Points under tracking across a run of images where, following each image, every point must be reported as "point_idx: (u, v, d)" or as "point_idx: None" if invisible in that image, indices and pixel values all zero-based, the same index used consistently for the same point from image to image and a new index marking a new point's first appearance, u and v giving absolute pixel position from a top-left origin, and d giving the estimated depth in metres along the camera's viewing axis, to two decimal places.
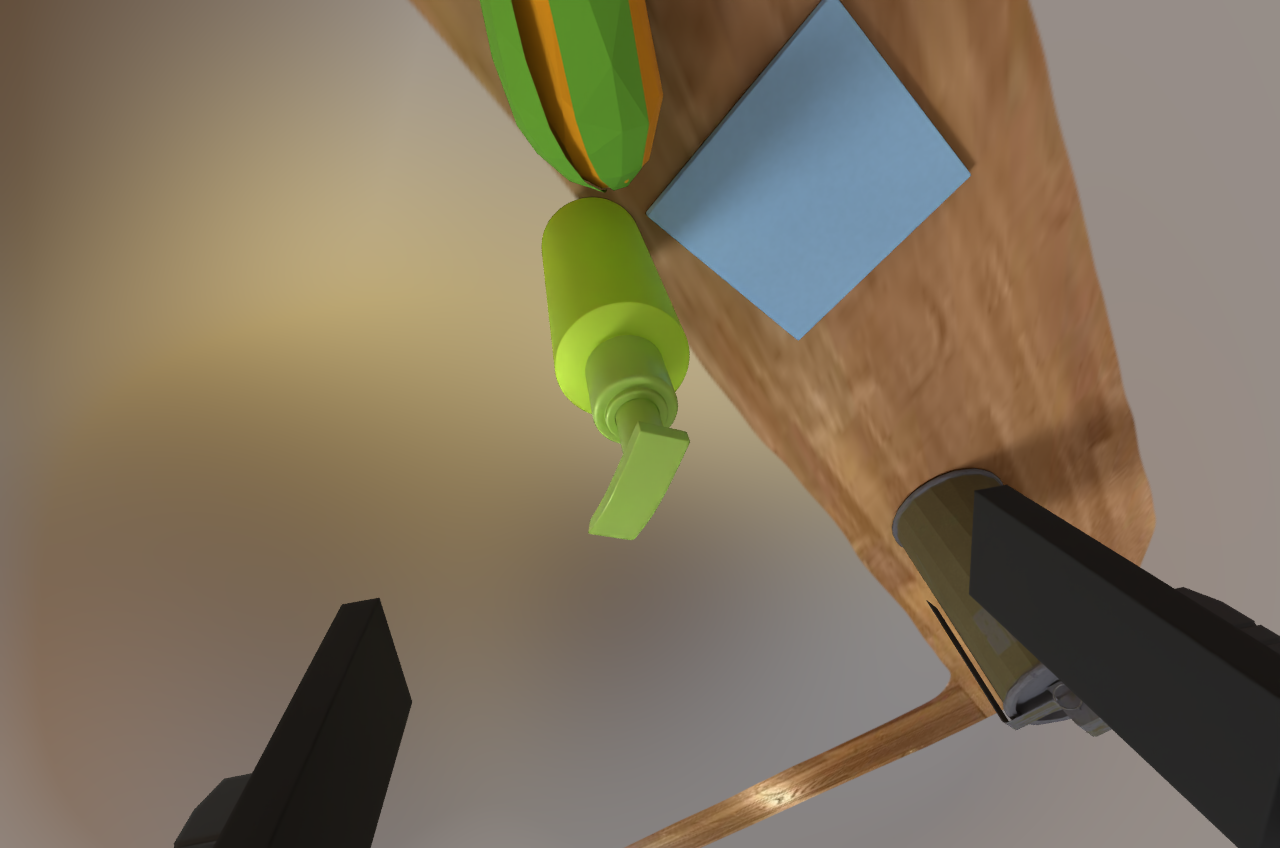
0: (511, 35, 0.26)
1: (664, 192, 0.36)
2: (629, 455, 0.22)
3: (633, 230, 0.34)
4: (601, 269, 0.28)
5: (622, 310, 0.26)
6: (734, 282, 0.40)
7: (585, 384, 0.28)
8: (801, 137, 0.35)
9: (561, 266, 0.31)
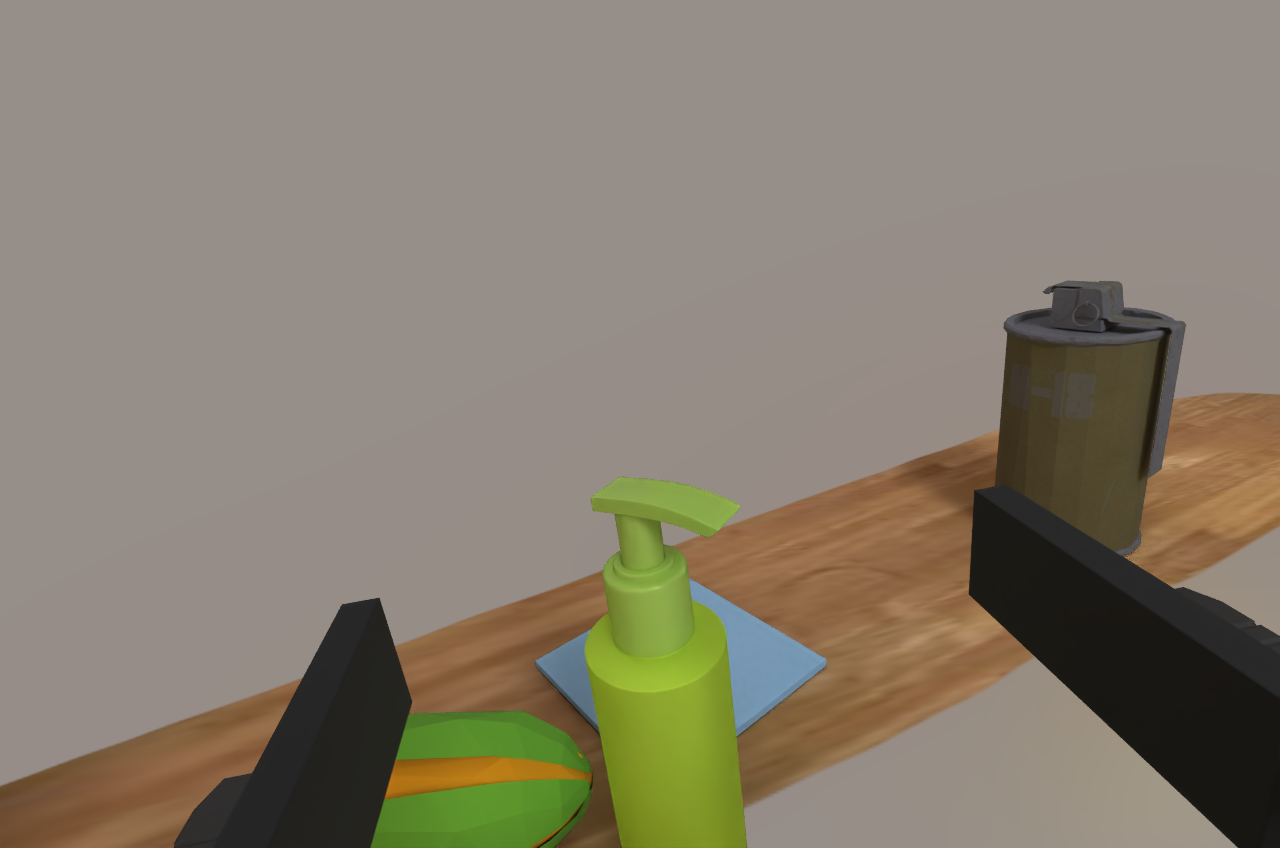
0: (406, 807, 0.28)
1: None
2: (612, 500, 0.24)
3: None
4: None
5: (593, 634, 0.27)
6: (750, 713, 0.38)
7: (663, 662, 0.25)
8: None
9: (615, 785, 0.27)
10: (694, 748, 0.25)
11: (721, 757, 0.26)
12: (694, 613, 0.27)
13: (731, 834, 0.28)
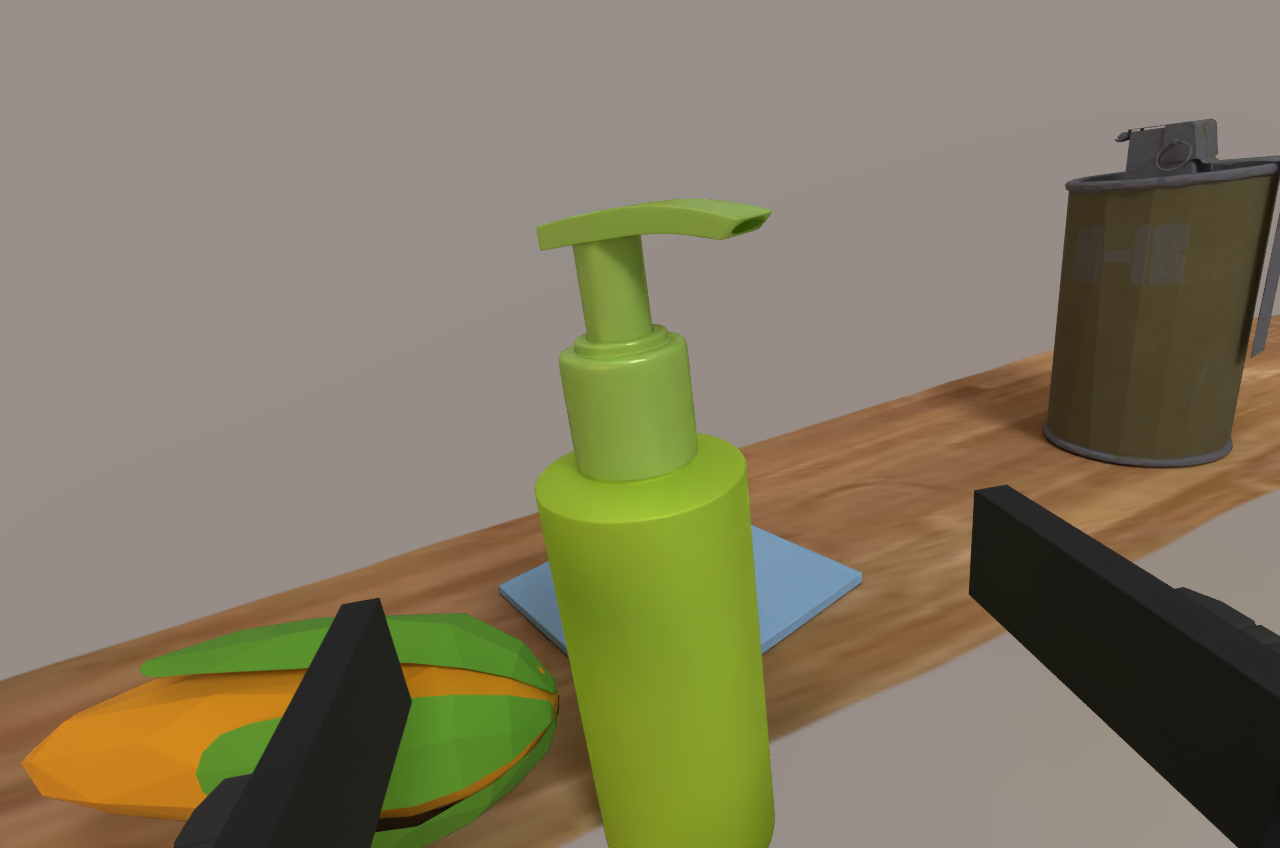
0: None
1: None
2: (568, 220, 0.15)
3: None
4: None
5: (550, 469, 0.18)
6: (768, 632, 0.29)
7: (650, 486, 0.16)
8: None
9: (583, 691, 0.18)
10: (698, 621, 0.16)
11: (740, 641, 0.17)
12: (697, 439, 0.19)
13: (753, 764, 0.19)
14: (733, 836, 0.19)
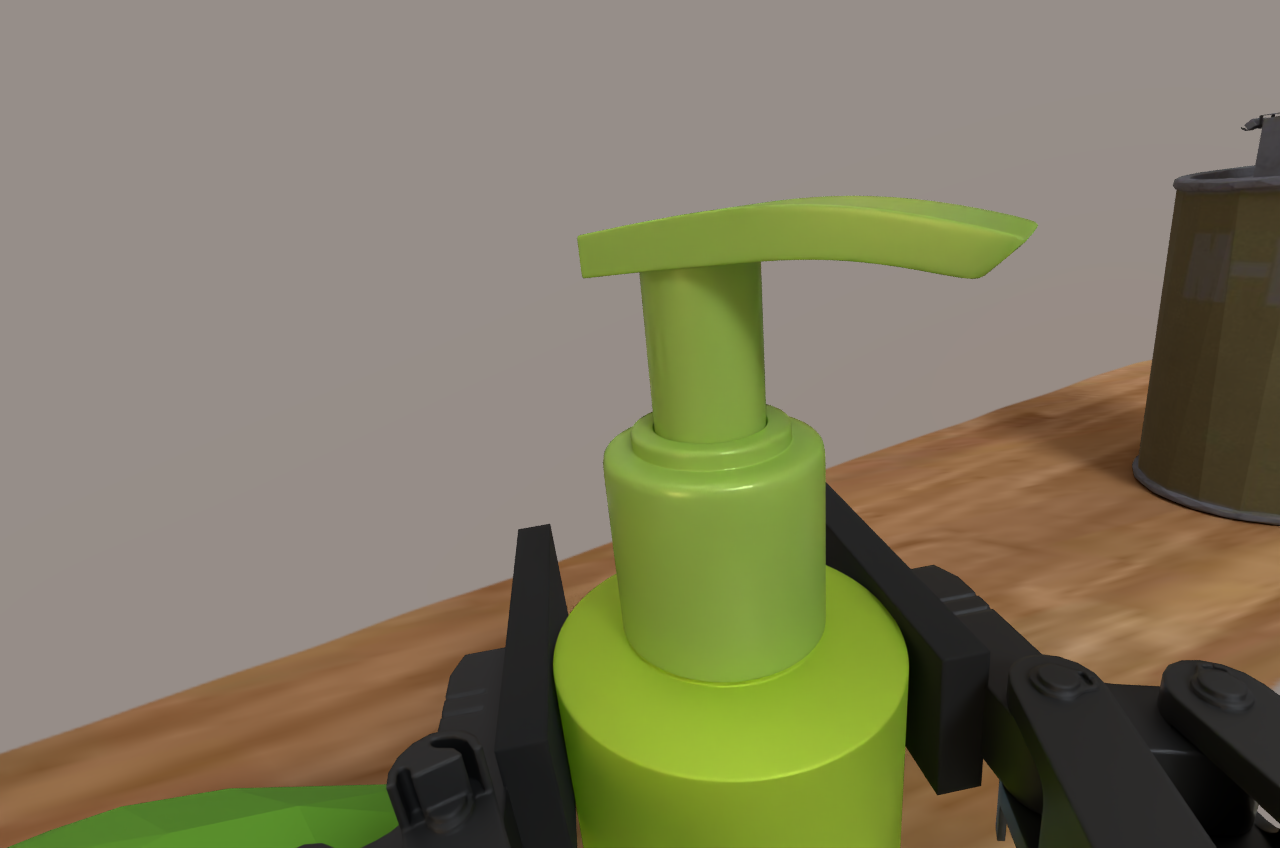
0: None
1: None
2: (639, 227, 0.08)
3: None
4: None
5: (577, 621, 0.12)
6: None
7: (759, 694, 0.09)
8: None
9: None
10: None
11: None
12: None
13: None
14: None
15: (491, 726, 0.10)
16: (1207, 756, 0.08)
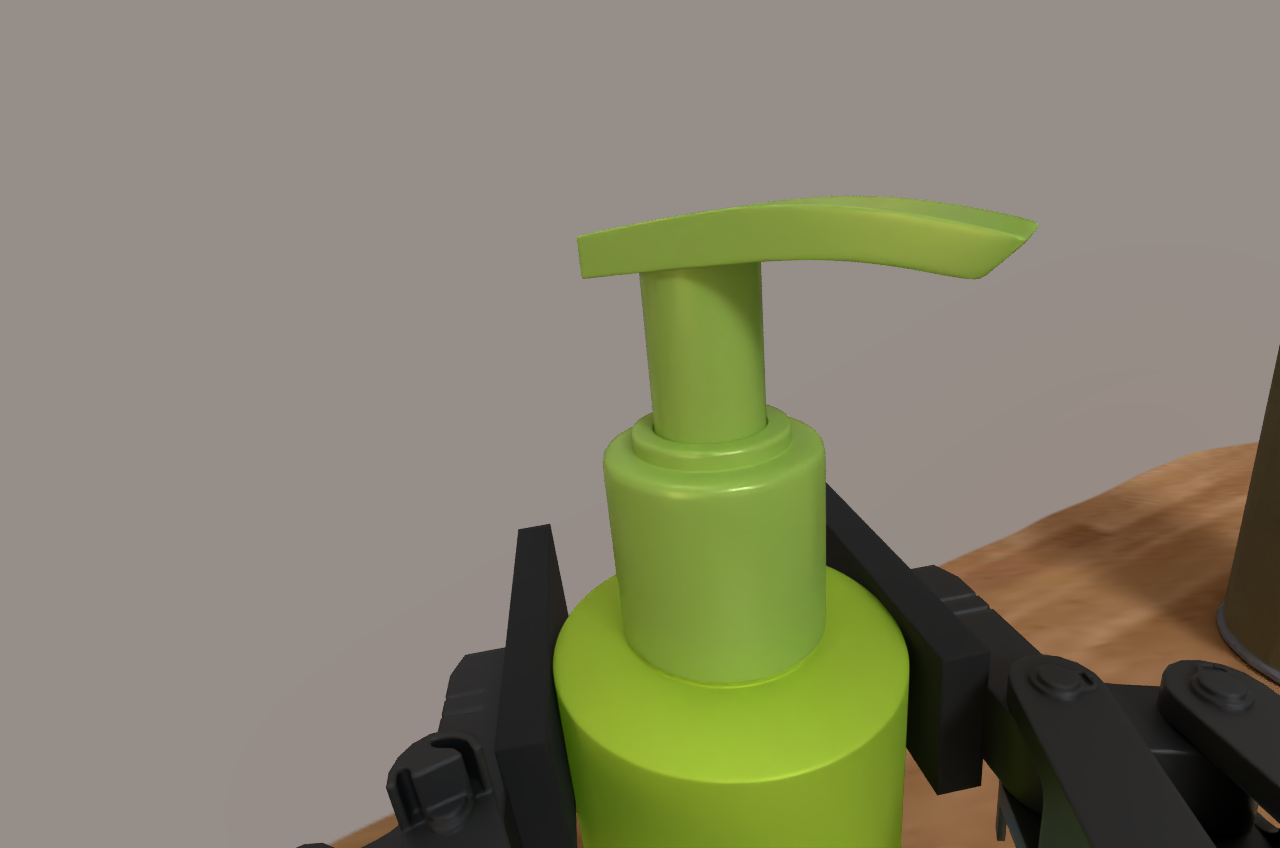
0: None
1: None
2: (639, 227, 0.08)
3: None
4: None
5: (577, 622, 0.12)
6: None
7: (759, 695, 0.09)
8: None
9: None
10: None
11: None
12: None
13: None
14: None
15: (491, 726, 0.10)
16: (1207, 756, 0.08)
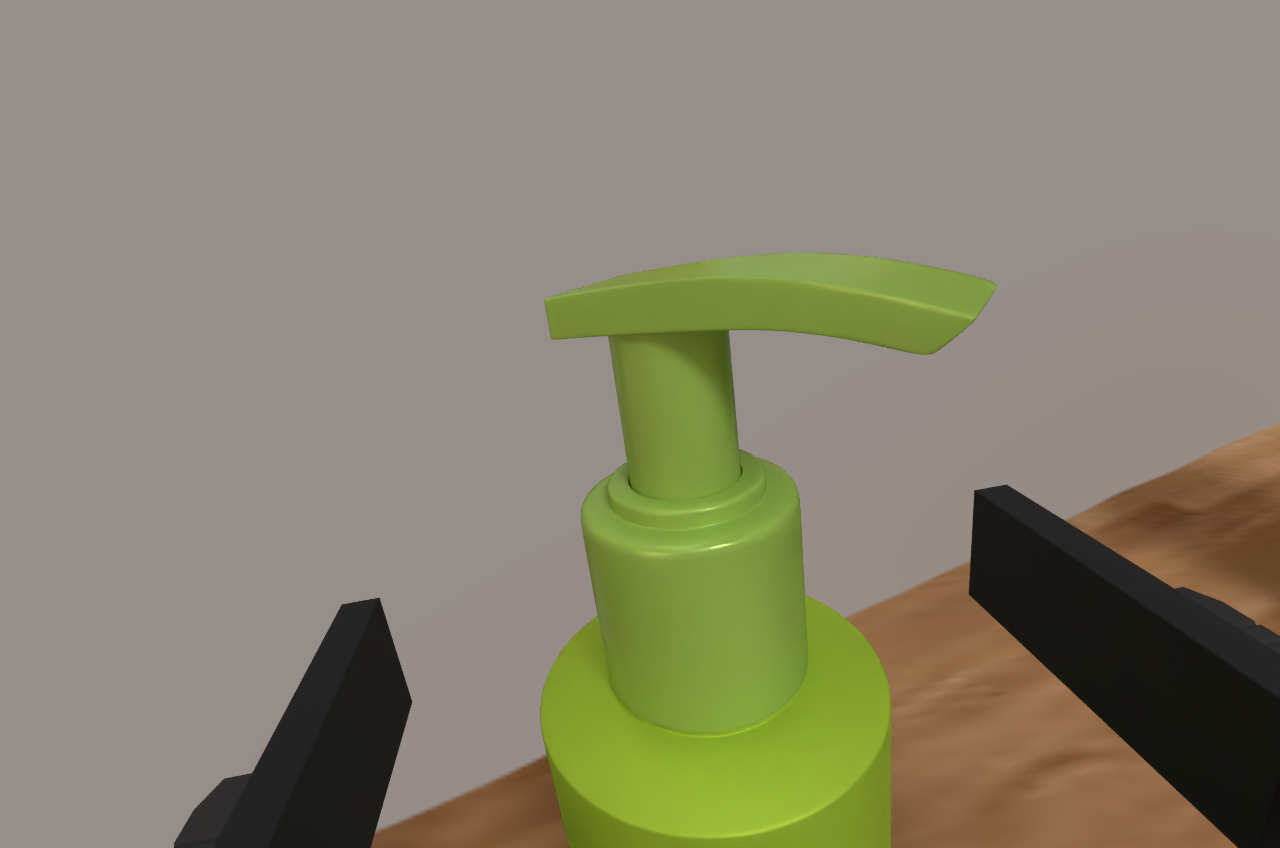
0: None
1: None
2: (603, 293, 0.08)
3: None
4: None
5: (564, 665, 0.12)
6: None
7: (740, 744, 0.09)
8: None
9: None
10: None
11: None
12: None
13: None
14: None
15: None
16: None
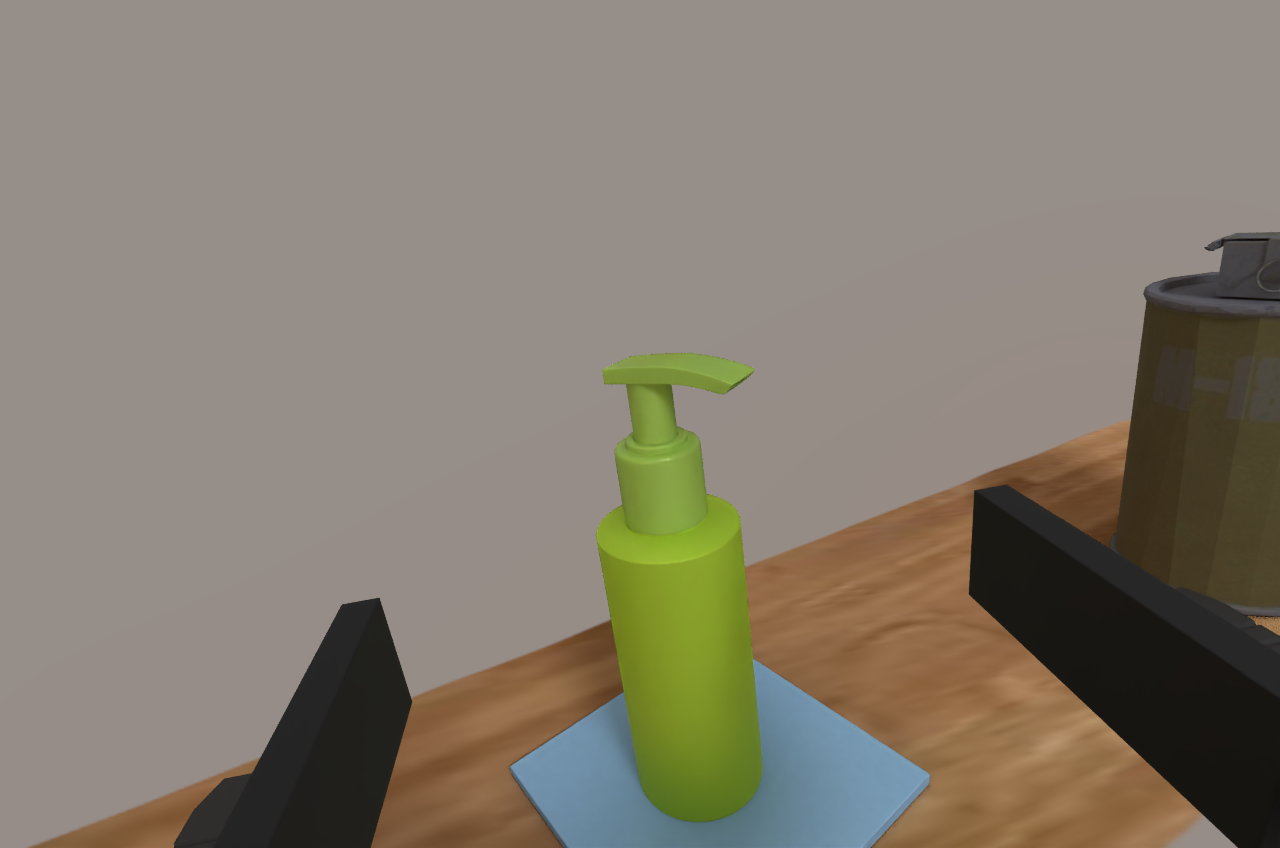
0: None
1: None
2: (624, 369, 0.23)
3: None
4: None
5: (605, 522, 0.27)
6: None
7: (676, 538, 0.24)
8: (636, 786, 0.30)
9: (628, 675, 0.27)
10: (708, 627, 0.24)
11: (736, 641, 0.26)
12: (707, 501, 0.27)
13: (746, 727, 0.27)
14: (732, 777, 0.27)
15: None
16: None
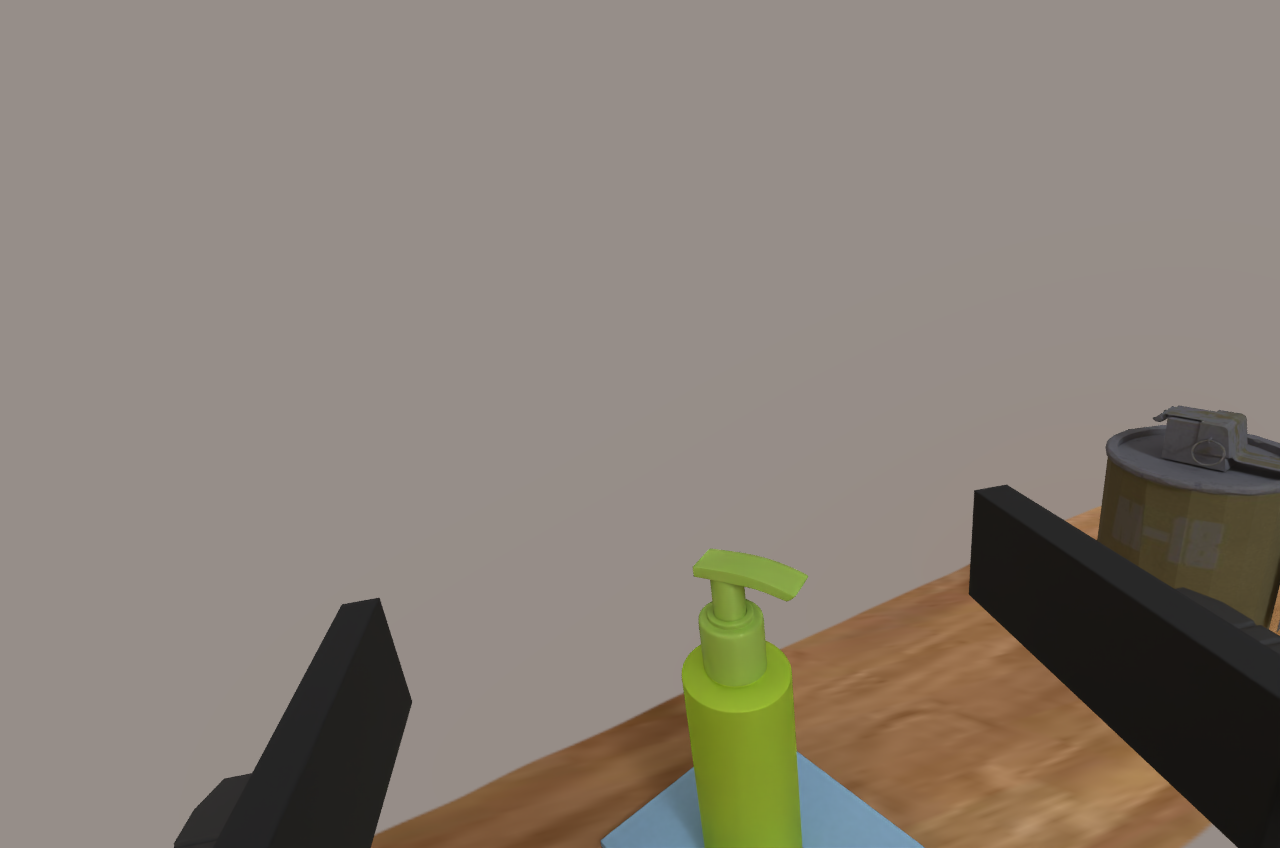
0: None
1: None
2: (710, 570, 0.32)
3: None
4: None
5: (687, 666, 0.35)
6: None
7: (746, 689, 0.33)
8: None
9: (704, 783, 0.35)
10: (769, 754, 0.33)
11: (788, 760, 0.34)
12: None
13: (793, 821, 0.36)
14: None
15: None
16: None
